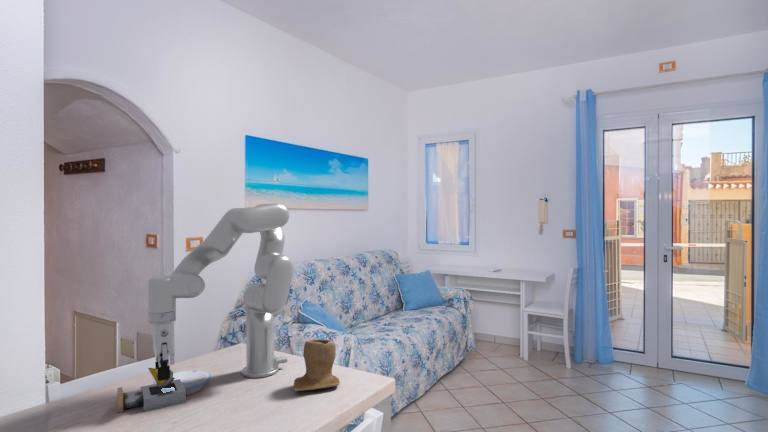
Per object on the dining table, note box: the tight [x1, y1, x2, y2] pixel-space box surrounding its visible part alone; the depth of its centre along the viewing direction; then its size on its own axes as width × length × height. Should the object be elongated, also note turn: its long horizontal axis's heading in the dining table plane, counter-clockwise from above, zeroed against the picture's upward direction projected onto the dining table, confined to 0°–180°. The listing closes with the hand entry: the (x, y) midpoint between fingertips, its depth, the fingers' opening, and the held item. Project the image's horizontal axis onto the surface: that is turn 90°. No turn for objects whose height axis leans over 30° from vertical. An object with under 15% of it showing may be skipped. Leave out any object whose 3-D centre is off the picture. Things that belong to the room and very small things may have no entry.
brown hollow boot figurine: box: [293, 338, 341, 392], centre depth 142 cm, size 15×12×15 cm
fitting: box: [116, 378, 187, 414], centre depth 130 cm, size 17×11×6 cm, turn 123°
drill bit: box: [147, 367, 176, 388], centre depth 131 cm, size 5×5×10 cm
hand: (162, 376), depth 132 cm, fingers closed on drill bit, 5 cm apart
